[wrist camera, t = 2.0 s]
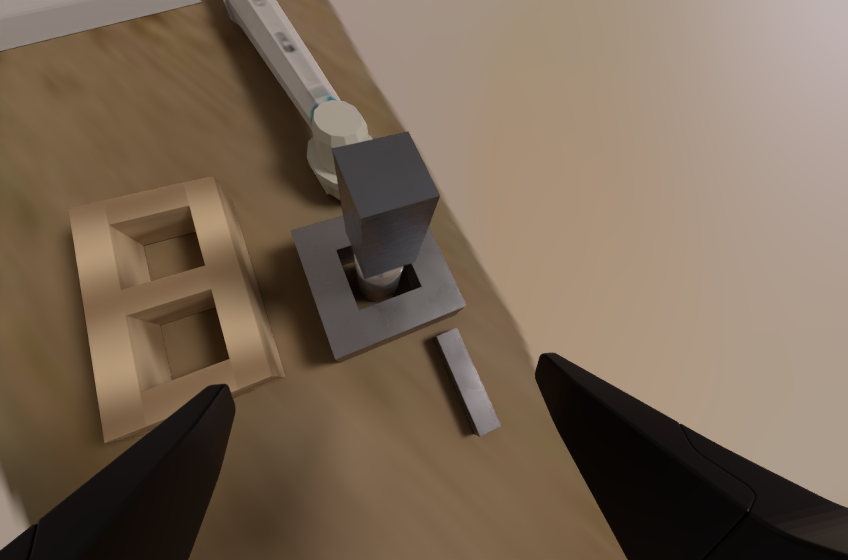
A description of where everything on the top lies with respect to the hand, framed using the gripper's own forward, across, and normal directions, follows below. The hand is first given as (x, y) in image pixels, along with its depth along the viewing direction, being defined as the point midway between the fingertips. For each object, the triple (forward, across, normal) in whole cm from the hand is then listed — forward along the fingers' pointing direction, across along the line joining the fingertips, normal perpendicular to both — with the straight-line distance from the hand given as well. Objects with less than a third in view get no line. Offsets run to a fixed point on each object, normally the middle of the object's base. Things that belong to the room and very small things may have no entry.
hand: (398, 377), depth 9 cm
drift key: (+9, -6, +10) cm, 14 cm away
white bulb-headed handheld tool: (+27, +6, -8) cm, 29 cm away
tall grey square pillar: (+14, 0, +4) cm, 15 cm away
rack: (+14, +12, +5) cm, 19 cm away
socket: (+14, 0, +4) cm, 15 cm away
